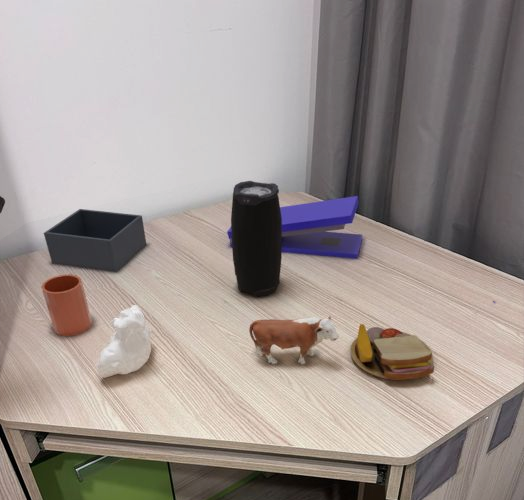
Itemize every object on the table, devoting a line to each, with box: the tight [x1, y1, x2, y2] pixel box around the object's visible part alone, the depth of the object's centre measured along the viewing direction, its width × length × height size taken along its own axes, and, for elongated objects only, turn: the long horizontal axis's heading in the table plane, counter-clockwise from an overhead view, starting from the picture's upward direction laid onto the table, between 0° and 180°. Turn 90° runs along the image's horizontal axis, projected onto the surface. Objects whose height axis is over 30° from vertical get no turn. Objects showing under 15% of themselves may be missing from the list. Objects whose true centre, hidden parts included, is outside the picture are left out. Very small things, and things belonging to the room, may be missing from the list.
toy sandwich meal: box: [349, 323, 435, 381], centre depth 82 cm, size 12×14×5 cm
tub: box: [43, 208, 147, 273], centre depth 113 cm, size 15×13×7 cm
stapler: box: [226, 195, 363, 260], centre depth 115 cm, size 12×28×10 cm, turn 76°
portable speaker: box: [230, 180, 283, 298], centre depth 97 cm, size 9×9×20 cm
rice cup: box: [40, 273, 93, 337], centre depth 91 cm, size 6×6×8 cm
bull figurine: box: [248, 315, 340, 365], centre depth 82 cm, size 4×13×8 cm, turn 81°
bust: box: [96, 304, 153, 378], centre depth 81 cm, size 12×8×11 cm
